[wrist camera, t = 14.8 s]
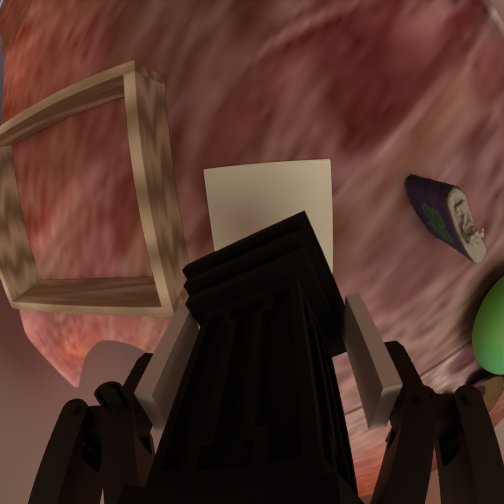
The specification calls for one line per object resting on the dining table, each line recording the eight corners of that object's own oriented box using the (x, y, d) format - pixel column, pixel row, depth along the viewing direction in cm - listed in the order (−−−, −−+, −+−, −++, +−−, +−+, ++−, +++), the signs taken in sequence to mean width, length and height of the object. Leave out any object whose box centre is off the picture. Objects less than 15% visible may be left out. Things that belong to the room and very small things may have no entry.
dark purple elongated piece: (448, 228, 31) (500, 261, 21) (433, 242, 32) (481, 280, 22) (414, 168, 29) (469, 183, 19) (397, 184, 30) (448, 205, 20)
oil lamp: (414, 402, 44) (425, 430, 37) (521, 333, 37) (539, 353, 30) (418, 441, 51) (426, 463, 43) (509, 387, 44) (520, 405, 37)
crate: (7, 140, 30) (-27, 146, 23) (163, 76, 27) (134, 60, 20) (39, 286, 40) (12, 307, 32) (192, 282, 37) (174, 316, 29)
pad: (205, 168, 31) (203, 169, 31) (328, 159, 30) (330, 159, 29) (220, 280, 36) (219, 283, 35) (331, 273, 35) (332, 275, 34)
